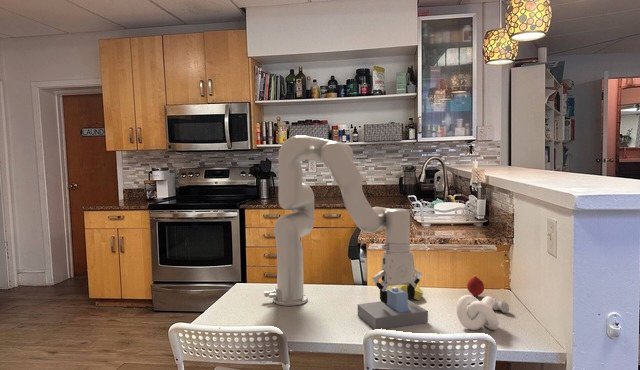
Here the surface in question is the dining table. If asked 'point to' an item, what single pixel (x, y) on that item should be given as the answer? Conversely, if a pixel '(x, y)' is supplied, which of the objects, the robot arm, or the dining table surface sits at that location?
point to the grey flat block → (391, 315)
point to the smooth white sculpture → (500, 305)
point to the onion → (475, 286)
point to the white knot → (477, 313)
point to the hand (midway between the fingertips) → (397, 300)
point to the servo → (397, 300)
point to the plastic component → (404, 288)
